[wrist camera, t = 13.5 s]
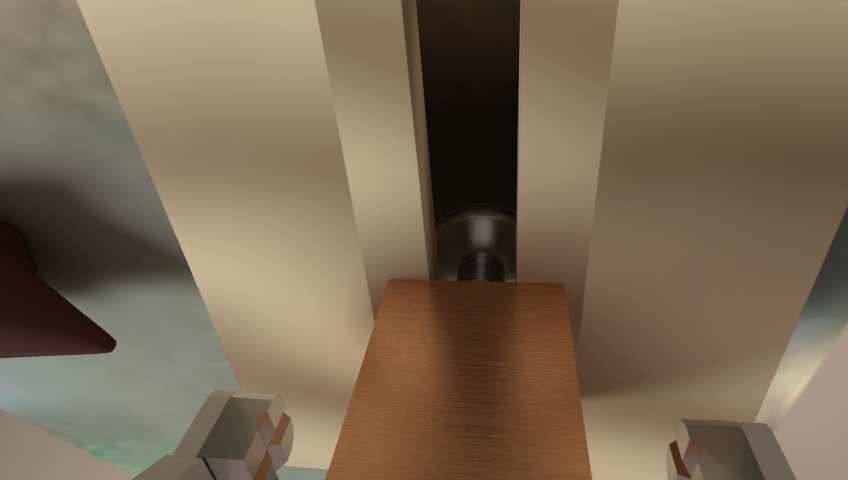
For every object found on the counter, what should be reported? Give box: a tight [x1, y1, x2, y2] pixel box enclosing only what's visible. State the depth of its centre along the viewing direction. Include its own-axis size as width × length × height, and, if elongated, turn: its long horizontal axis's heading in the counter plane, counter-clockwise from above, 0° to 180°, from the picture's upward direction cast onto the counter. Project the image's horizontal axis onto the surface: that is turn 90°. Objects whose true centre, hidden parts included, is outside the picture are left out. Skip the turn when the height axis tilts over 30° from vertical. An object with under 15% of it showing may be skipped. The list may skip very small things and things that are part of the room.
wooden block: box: [325, 203, 592, 480], centre depth 12 cm, size 4×4×9 cm
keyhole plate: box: [76, 0, 848, 480], centre depth 12 cm, size 24×14×8 cm, turn 5°
